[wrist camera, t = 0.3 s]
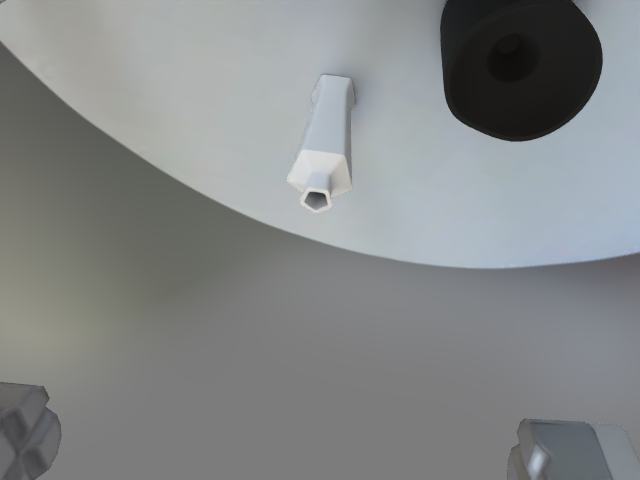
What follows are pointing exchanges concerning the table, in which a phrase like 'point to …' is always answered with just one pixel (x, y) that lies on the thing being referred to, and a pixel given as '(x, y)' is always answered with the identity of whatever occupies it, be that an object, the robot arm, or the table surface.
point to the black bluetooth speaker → (518, 65)
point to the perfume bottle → (325, 146)
